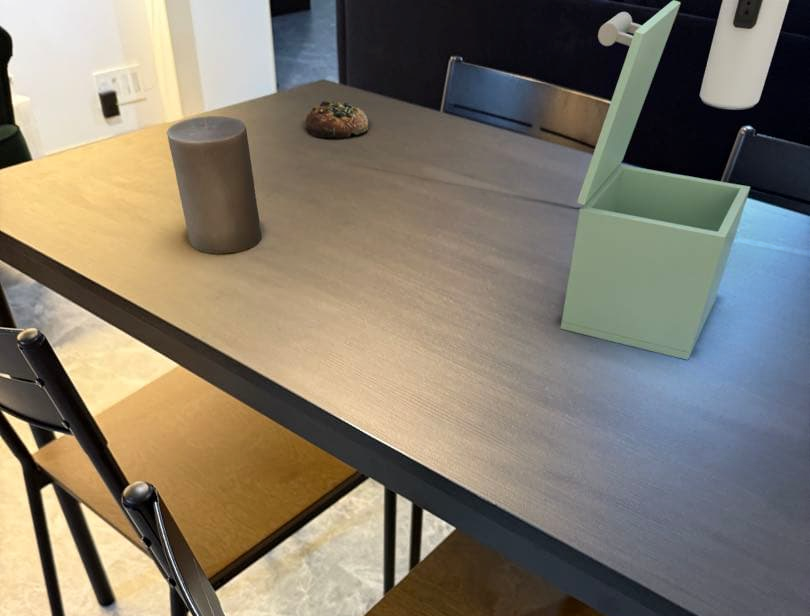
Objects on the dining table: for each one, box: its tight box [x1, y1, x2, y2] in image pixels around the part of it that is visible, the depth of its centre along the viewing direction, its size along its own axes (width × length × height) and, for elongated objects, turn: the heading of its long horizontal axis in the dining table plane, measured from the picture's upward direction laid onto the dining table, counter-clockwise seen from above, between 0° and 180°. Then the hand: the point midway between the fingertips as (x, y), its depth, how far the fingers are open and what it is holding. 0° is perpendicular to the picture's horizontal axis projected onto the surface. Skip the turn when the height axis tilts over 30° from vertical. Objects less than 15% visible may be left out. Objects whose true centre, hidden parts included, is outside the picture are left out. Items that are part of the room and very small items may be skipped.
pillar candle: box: [166, 115, 263, 255], centre depth 97 cm, size 10×10×15 cm
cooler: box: [560, 164, 751, 361], centre depth 83 cm, size 14×14×13 cm
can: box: [699, 0, 790, 111], centre depth 82 cm, size 6×6×12 cm
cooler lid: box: [576, 0, 681, 206], centre depth 75 cm, size 15×14×5 cm
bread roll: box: [305, 100, 369, 139], centre depth 132 cm, size 11×11×5 cm
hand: (750, 20), depth 80 cm, fingers closed on can, 6 cm apart
